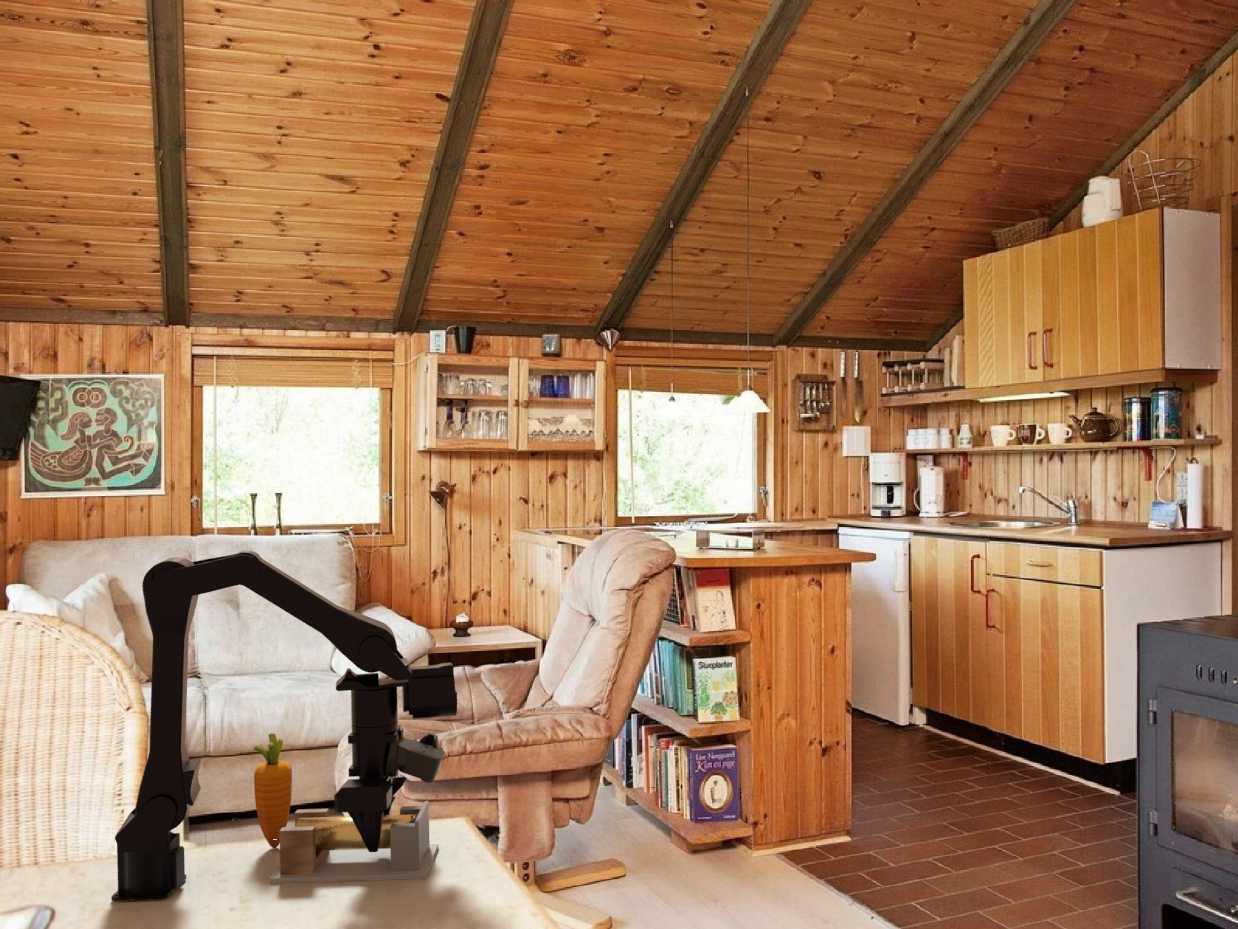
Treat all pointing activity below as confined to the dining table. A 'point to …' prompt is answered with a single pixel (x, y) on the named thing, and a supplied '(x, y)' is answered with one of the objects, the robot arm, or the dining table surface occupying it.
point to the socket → (410, 839)
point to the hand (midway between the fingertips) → (377, 845)
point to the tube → (348, 831)
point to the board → (357, 867)
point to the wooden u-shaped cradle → (300, 845)
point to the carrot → (272, 791)
